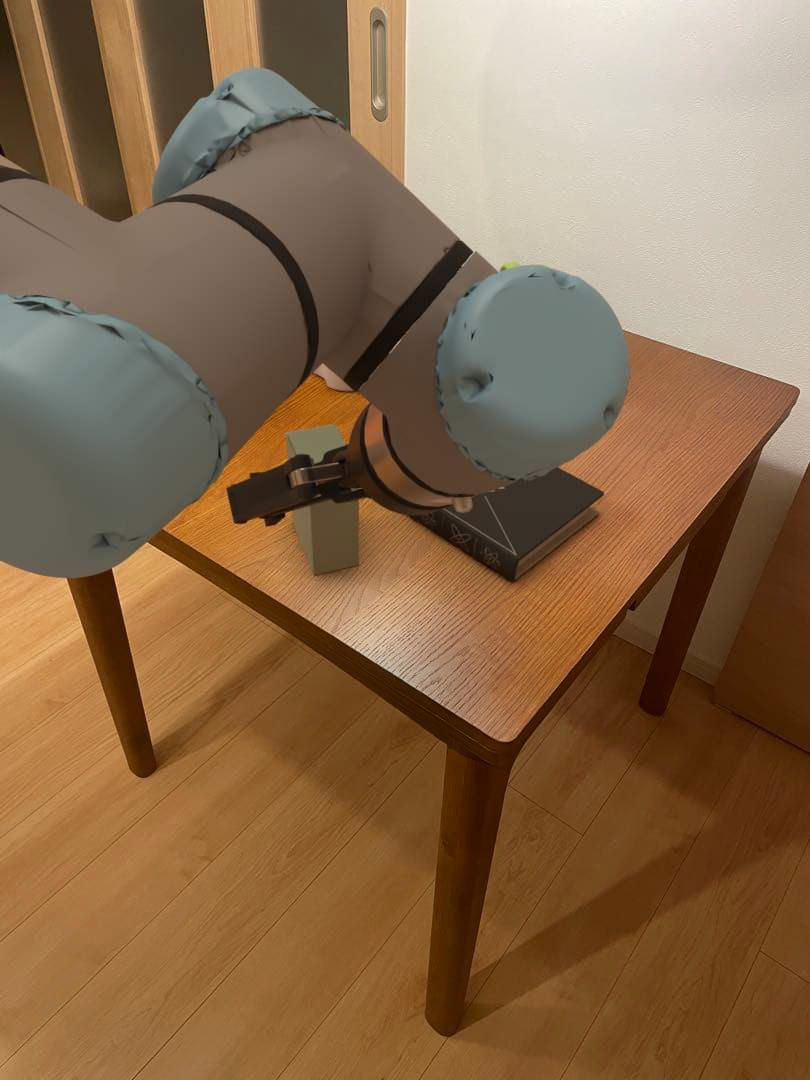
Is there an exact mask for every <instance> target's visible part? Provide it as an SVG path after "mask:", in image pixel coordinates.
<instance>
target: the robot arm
mask: <svg viewBox="0 0 810 1080" xmlns="http://www.w3.org/2000/svg"><path fill="white" fill-rule="evenodd" d="M151 200H152V205H150V206H149V207H147V208H146V209H144V210H142V211H140V212H138V213H136V214H133V215H132V216H130V217H127V218H125V219H123V220H122V221H119V222H118V221H112V220H110V219H107V218H105V217H103V216H102V215H100V214H99V213H97V212H95V211H94V210H92V209H91V208H89V207H87V206H86V205H84V204H82V203H81V202H79V201H78V200H76V199H75V198H73V197H72V196H70V195H68V194H66V193H65V192H63V191H62V190H60V189H59V188H57V187H56V186H54V185H51V184H49V183H47V182H45V181H43V180H42V179H40V178H39V177H37V176H36V175H34V174H32V173H30V172H29V171H27V170H26V169H24V168H23V167H21V166H19V165H18V164H16V163H14V162H13V161H12V160H9V159H8V158H6V157H4V156H3V155H1V154H0V562H2V563H4V564H7V565H8V566H11V567H14V568H16V569H19V570H21V571H24V572H28V573H32V574H35V575H39V576H43V577H48V578H56V579H77V578H87V577H92V576H95V575H98V574H102V573H105V572H107V571H109V570H112V569H113V568H115V567H117V566H119V565H120V564H122V563H123V562H125V561H126V560H128V559H129V558H130V557H131V556H132V555H134V554H135V553H136V552H137V551H139V549H141V548H142V547H143V546H145V544H147V543H148V542H149V541H150V540H151V539H153V538H154V537H155V536H156V535H157V534H159V532H161V531H162V530H163V529H164V528H165V527H166V526H167V525H169V523H171V522H172V521H173V520H174V519H175V518H176V517H178V515H180V514H181V513H182V512H184V510H186V509H187V508H188V507H190V506H192V505H193V504H195V503H196V502H198V501H200V500H201V498H202V497H203V496H204V495H205V494H206V493H207V491H208V490H209V489H210V487H211V486H212V485H213V484H215V483H217V481H218V480H219V478H220V477H221V476H222V474H223V472H224V469H225V467H227V465H228V464H229V463H231V461H232V460H233V459H234V457H236V455H237V454H238V453H239V452H240V450H242V448H243V447H244V446H245V445H246V444H247V443H248V442H249V441H250V439H251V438H252V437H253V436H254V435H255V434H256V433H257V432H258V431H259V430H260V429H261V427H262V426H263V425H264V424H265V423H266V422H267V420H268V419H269V418H270V417H271V416H272V415H273V414H274V413H275V412H276V410H277V409H278V408H279V407H280V406H281V405H282V404H283V403H284V402H285V401H287V399H289V398H290V397H291V396H292V395H293V394H294V393H295V392H296V391H297V389H299V388H300V387H301V386H302V385H303V384H304V383H305V382H306V381H307V380H308V379H309V378H310V377H311V376H312V375H313V372H314V371H315V370H316V369H317V368H318V367H319V366H320V365H321V364H322V363H323V364H324V365H325V366H326V367H327V368H329V369H330V370H331V371H332V372H333V373H335V374H336V375H337V376H338V377H339V378H341V379H342V380H343V381H344V382H345V383H346V384H347V385H348V386H349V387H350V388H351V389H352V390H354V391H353V392H354V393H358V394H359V395H361V396H362V398H364V399H365V400H366V401H367V402H369V403H368V404H366V406H365V407H363V409H362V411H361V412H360V413H359V415H358V416H357V419H356V420H355V421H354V425H353V427H352V429H351V433H350V436H349V441H348V444H346V445H345V446H342V447H339V448H336V449H333V450H330V451H327V452H325V454H324V456H323V460H322V461H321V462H318V463H315V464H314V460H313V458H312V457H310V455H307V454H297V455H295V457H292V458H290V459H289V460H288V459H287V460H286V461H285V462H284V463H282V464H280V465H278V466H274V467H272V468H270V469H268V470H265V471H257V472H256V471H255V472H249V478H246V479H244V480H242V481H239V482H237V483H233V484H230V486H227V487H225V490H226V494H227V498H228V504H229V508H230V513H231V516H232V521H233V524H235V525H245V524H247V523H248V522H249V521H252V520H255V519H259V520H264V525H265V527H273V526H276V525H277V524H279V523H280V522H281V521H282V520H283V519H284V518H286V514H287V513H290V512H292V511H294V510H297V509H300V508H304V507H307V506H311V505H314V504H318V503H321V502H325V501H328V500H333V501H334V502H335V503H347V502H353V501H356V500H359V501H360V500H363V499H371V500H373V501H374V503H376V504H378V505H379V506H381V507H382V508H383V509H385V510H388V511H390V512H393V513H396V514H399V515H404V516H410V515H424V514H429V513H433V512H435V511H438V510H441V509H444V508H446V507H449V506H452V505H453V506H454V508H455V510H456V511H457V512H459V513H465V512H469V511H470V510H471V509H472V507H473V504H472V499H471V497H473V496H476V495H480V494H482V493H486V492H489V491H492V490H495V489H498V488H501V487H504V486H507V485H509V484H512V483H515V482H519V481H525V480H528V481H530V480H533V479H535V478H537V477H541V476H544V475H547V474H548V473H550V472H552V471H553V470H555V469H556V468H560V466H563V465H565V464H566V463H568V462H571V461H573V460H574V459H576V458H577V457H578V456H579V455H581V454H582V453H584V452H586V451H588V450H589V449H591V448H592V447H594V446H595V445H596V444H597V443H598V442H600V440H601V439H603V438H604V437H605V435H606V434H607V433H608V432H609V431H611V430H612V429H613V427H614V425H615V423H616V420H617V418H618V417H619V415H620V413H621V411H622V409H623V407H624V405H625V401H626V397H627V395H628V390H629V384H630V379H631V360H630V352H629V346H628V342H627V338H626V335H625V332H624V329H623V328H622V324H621V323H620V320H619V318H618V317H617V314H616V313H615V310H614V309H613V308H612V307H611V305H610V304H609V302H608V301H607V299H606V298H605V297H604V296H603V295H602V294H601V293H600V292H599V291H598V290H597V289H596V288H595V287H593V286H592V285H591V284H589V283H588V282H587V281H585V280H584V279H582V278H581V277H579V276H577V275H571V274H570V273H567V272H565V271H561V270H559V269H555V268H551V267H549V266H547V265H545V266H544V264H541V265H532V264H524V265H520V266H517V267H512V268H509V269H506V270H503V271H501V272H499V270H497V269H496V268H495V267H494V266H493V265H492V264H491V263H490V262H489V261H488V260H487V259H486V258H485V257H484V256H482V255H481V254H480V253H479V252H478V251H477V250H475V251H474V250H472V249H471V248H470V247H469V246H468V245H467V244H466V243H465V241H463V240H461V239H460V237H459V236H458V235H457V234H456V233H455V232H454V231H453V230H451V228H450V227H448V225H446V224H445V222H444V221H442V220H441V219H440V218H439V217H438V216H437V215H436V214H435V213H434V212H433V211H432V210H431V209H429V208H428V207H427V206H426V205H425V204H424V203H423V202H422V201H421V200H420V199H419V198H418V197H417V196H416V195H415V194H414V193H413V192H412V191H411V190H410V189H409V188H407V186H406V185H404V184H403V183H402V181H400V179H399V178H397V177H396V176H395V175H394V174H393V173H392V172H391V171H390V170H389V169H388V168H387V167H385V165H384V164H382V163H381V162H380V160H379V159H377V158H376V157H375V156H374V155H373V154H372V153H371V152H370V151H369V150H368V149H367V148H366V147H364V145H363V144H362V143H360V141H358V140H357V139H356V138H355V137H354V136H353V135H352V134H351V132H350V130H349V129H348V128H347V126H346V124H345V123H343V121H342V120H340V119H339V118H338V117H336V116H334V115H333V114H332V113H331V112H329V111H327V110H324V109H321V107H319V105H317V104H315V103H314V102H313V101H312V100H311V99H309V98H308V97H307V96H305V95H304V94H303V93H302V92H301V91H300V90H298V89H297V88H296V87H295V86H294V85H292V84H291V83H290V82H289V81H287V80H286V78H284V77H283V76H281V75H280V74H278V73H277V72H275V71H273V70H272V69H268V68H263V67H246V68H241V69H239V70H236V71H234V72H232V73H230V74H228V75H227V76H225V77H224V78H223V79H221V81H219V82H218V83H217V85H216V86H215V88H214V89H213V90H212V92H211V93H210V94H209V95H208V96H206V97H201V98H198V100H197V101H196V102H195V104H193V106H192V108H191V109H190V110H189V111H188V112H187V114H186V115H185V116H184V117H183V119H182V120H181V121H180V123H179V124H178V126H177V127H176V129H175V130H174V132H173V134H172V135H171V137H170V139H169V140H168V142H167V144H166V145H165V148H164V150H163V152H162V154H161V157H160V160H159V162H158V164H157V167H156V170H155V174H154V177H153V180H152V185H151ZM546 266H547V267H546ZM461 267H462V268H461ZM548 267H549V268H548ZM460 268H461V269H460ZM459 269H460V270H459ZM458 270H459V271H458ZM457 271H458V273H457ZM456 273H457V274H456ZM455 274H456V275H455ZM454 275H455V276H454ZM452 278H453V279H452ZM451 279H452V280H451ZM450 280H451V281H450ZM449 281H450V282H449ZM447 284H448V285H447ZM446 285H447V286H446ZM445 286H446V287H445ZM444 287H445V288H444ZM441 291H442V292H441ZM440 292H441V293H440ZM439 293H440V294H439ZM436 297H437V298H436ZM431 303H432V304H431ZM430 304H431V305H430ZM429 305H430V306H429ZM428 306H429V307H428ZM427 307H428V308H427ZM426 309H427V310H426ZM425 310H426V311H425ZM424 311H425V312H424ZM401 339H402V340H401ZM400 340H401V341H400ZM399 341H400V342H399ZM398 342H399V343H398ZM397 343H398V344H397ZM396 345H397V346H396ZM395 346H396V347H395ZM394 347H395V348H394ZM393 348H394V349H393ZM392 349H393V350H392ZM391 351H392V352H391ZM390 352H391V353H390ZM389 353H390V354H389ZM388 354H389V355H388ZM387 355H388V356H387ZM386 357H387V358H386ZM385 358H386V359H385ZM384 359H385V360H384ZM383 360H384V361H383ZM382 361H383V362H382ZM381 362H382V364H381ZM380 364H381V365H380ZM379 365H380V366H379ZM378 366H379V367H378ZM377 367H378V368H377ZM376 368H377V370H376ZM375 370H376V371H375ZM374 371H375V372H374ZM373 372H374V373H373ZM372 373H373V374H372ZM371 375H372V376H371ZM370 376H371V377H370ZM369 377H370V378H369ZM365 382H366V383H365ZM364 383H365V384H364ZM363 384H364V385H363ZM362 385H363V386H362ZM361 386H362V388H361V389H360V387H361ZM351 488H359V490H356V491H352V490H351Z"/></svg>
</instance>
